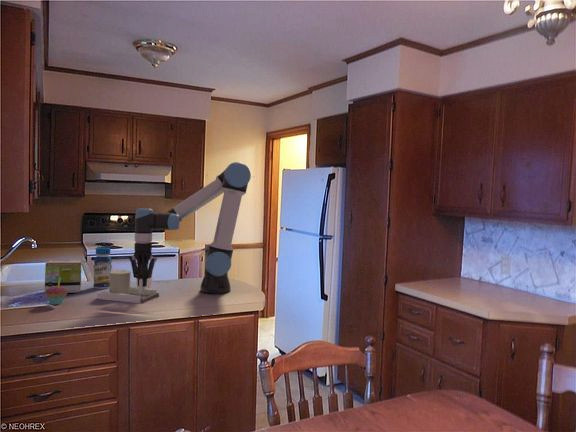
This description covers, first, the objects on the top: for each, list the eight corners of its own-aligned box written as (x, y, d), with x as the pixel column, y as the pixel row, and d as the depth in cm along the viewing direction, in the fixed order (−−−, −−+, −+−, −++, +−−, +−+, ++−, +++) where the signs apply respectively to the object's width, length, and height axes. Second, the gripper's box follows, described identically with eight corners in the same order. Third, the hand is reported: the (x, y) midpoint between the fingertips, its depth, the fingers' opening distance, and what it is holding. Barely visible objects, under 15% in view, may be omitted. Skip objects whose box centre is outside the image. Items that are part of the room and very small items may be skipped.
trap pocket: (158, 296, 201) (158, 292, 201) (143, 302, 188) (143, 299, 188) (147, 295, 202) (147, 291, 202) (131, 301, 189) (131, 298, 189)
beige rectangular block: (134, 295, 201) (134, 270, 201) (122, 299, 192) (123, 273, 192) (116, 293, 203) (117, 268, 203) (104, 297, 194) (105, 271, 194)
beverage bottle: (114, 286, 219) (115, 247, 218) (104, 289, 210) (105, 249, 209) (99, 285, 220) (100, 246, 219) (89, 288, 212) (90, 248, 211)
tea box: (44, 294, 196) (44, 262, 195) (46, 289, 205) (47, 259, 205) (80, 292, 202) (81, 261, 202) (81, 288, 211) (81, 258, 211)
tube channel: (156, 295, 202) (156, 289, 202) (139, 303, 187) (139, 296, 187) (116, 292, 206) (116, 285, 206) (96, 298, 192) (96, 292, 191)
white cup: (149, 292, 209) (149, 272, 208) (133, 291, 209) (133, 271, 208) (154, 288, 216) (154, 269, 216) (139, 288, 217) (139, 268, 216)
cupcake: (71, 302, 185) (72, 274, 184) (56, 306, 176) (57, 277, 176) (54, 300, 186) (55, 273, 186) (39, 304, 178) (39, 276, 178)
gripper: (160, 242, 197) (159, 292, 197) (135, 240, 199) (133, 290, 200) (152, 243, 189) (150, 296, 190) (125, 242, 192) (124, 293, 193)
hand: (141, 293), depth 195 cm, fingers closed
